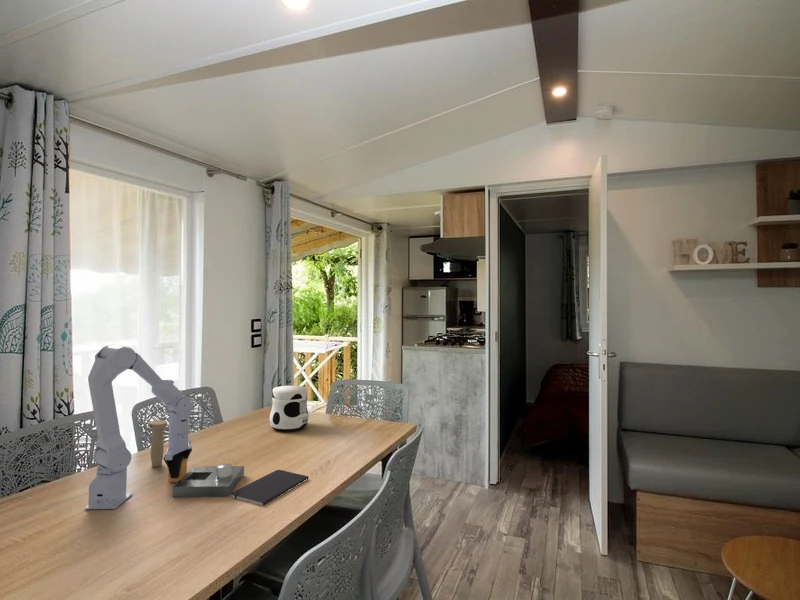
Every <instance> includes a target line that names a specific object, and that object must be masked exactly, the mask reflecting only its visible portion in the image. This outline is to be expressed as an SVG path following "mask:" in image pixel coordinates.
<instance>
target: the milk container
mask: <svg viewBox="0 0 800 600" xmlns="http://www.w3.org/2000/svg"><path fill="white" fill-rule="evenodd" d="M271 395H272V396H271V410H270V413H269V424H270V427H271V428H272V429H275V431H276V430H277V431H285V432H287V431H288V432H291V431H298V430H300V429H303V428H305V427H306V426H307V425H308V423H309V414H310V413H309V411H308V388H307V387H306V386H303V385H281V386H280V385H279V386H275V387H273V388H272V391H271Z"/></svg>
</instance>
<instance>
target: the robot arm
mask: <svg viewBox="0 0 800 600" xmlns="http://www.w3.org/2000/svg"><path fill="white" fill-rule="evenodd" d="M127 370H131V371H133V372H134V373H136V374H137V375H138V376H139V377H140V378H142V379H143V380H144V381H145V382H146V383H148V384H149V385H150V386H151V393H152V395H154V396H155V397H156V398H157V399H158V400H159V401H160V402H162V403H163V404H164V405H165V409H166V410H168V411H169V413H168V414H169V415H168V446H167V448H166V452H165V453H164V455H163V461H164V463H165V464H166V466H167V469H168V474H169V473H170V477H171V478H178V477H179V473H180V466H181V463H182V460H183V458H187V461H189V460H188V459H189V458H190V455H191V453H192V451H193V445H192V444H191V441H192V440H191V439H190V438H189V430H190V429H189V427H190V413H191V411H192V410H193V407H194V403H193V402H192V399H191V398H190V397H189V396H187V395H184V391H183V390H181V389H180V388H179V389H178V387H176V385H175V384H174V383H175V381H173V379H168V378H161V377H160V375H159V374H157V373H156V371H155V370H154V369H153V368H152V367H151V366H150V365H149V364H148V363H147V362H146V361H145V360H144V358H143V357H142V356H141V355H140V353H137V352H136V351H135V350H134V349H133V348H131V347H129V346H119V345H116V344H107V345H105V346H103V347H102V348H101V349H99V351H98V352H97V353H96V354H94V362H93V365H92V367H91V369H90V372H89V373H88V377H87V382H88V388H89V392H90V398H91V405H92V411H93V415H94V421H95V428H96V433H97V434H96V435H97V440H96V441H95V443H94V445H95V449H94V453H93V455H92V456H93V460H94V462H95V463H96V465H97V468H96V473H95V474H96V475H95V477H94V479H93V480H92V481H91V482H90V483H89V485H88V503H87V505H86V506H84V509H85V510H114V509H116V508H117V507H119V506H120V505H122V504H123V503H124V502H125V501H126V500H128V499H129V498H130V497H131V496H133V494H134V493H133V492H127V484H128V483H127V477H128V475H127V473H128V467H129V465H130V464H131V462H132V453H131V452H130V450H129V449H128V448H127V444H126V442H125V440H124V438H123V437H122V435H121V430H120V425H119V419H118V418H119V417H118V413H117V405H116V401H115V400H116V399H115V394H114V393H115V392H114V389H113V387H114V386H113V383H112V382H113V381H114V380H115V379H116V378H117V377H118V376H119V375H120V374H122V373H124V372H125V371H127Z"/></svg>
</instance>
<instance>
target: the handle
mask: <svg viewBox="0 0 800 600" xmlns="http://www.w3.org/2000/svg"><path fill="white" fill-rule="evenodd" d="M147 424H148V425H147V426H148V428H149V429H151V440H150V441H151V443H150V461H151V466H152V468H158V467H161V466H162V465H163V461H164V449H165V448H164V428H166V427H167V426H168V421H167V420H163V419H156V420H151V421H148V423H147Z"/></svg>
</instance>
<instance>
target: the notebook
mask: <svg viewBox="0 0 800 600" xmlns="http://www.w3.org/2000/svg"><path fill="white" fill-rule="evenodd" d="M308 478H309V476H308V475H304V474H301V473H295V472H292V471H286V470H282V469H276V470H274V471H271V472H270V473H268V474H266V475H264V476H262V477H260V478H258V479H255V480H254V481H252V482H250V483H248V484H246V485H244V486H242V487H239V488H238V489H236V490H233V491H232V493H231V494H230V495H231V498H234V499H235V500H239V501H244V502H247V501H249V502H248V503H251V502H252V504H255V503H256V504H255V505H258V504H260V505H259V506H262V505H264V506H266V505H268V504H269V503H271V502H272V500H273V499H274V500H276V499H278V498H279V497H281V496H282V495H281V494H283V493H285V492H286V491H288V490H289V489H291V488H293V487H294V486H296V485H298V484H299V483H301V482H303V481H304V480H306V479H308ZM303 483H304V482H303ZM298 486H299V485H298ZM293 489H294V488H293ZM291 490H292V489H291ZM288 492H289V491H288ZM286 493H287V492H286ZM286 493H285V494H286ZM280 495H281V496H280ZM283 495H284V494H283ZM278 496H279V497H278ZM277 497H278V498H277ZM275 498H276V499H275ZM274 500H273V501H274ZM270 501H271V502H270ZM268 502H269V503H268ZM265 504H266V505H265Z"/></svg>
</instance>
